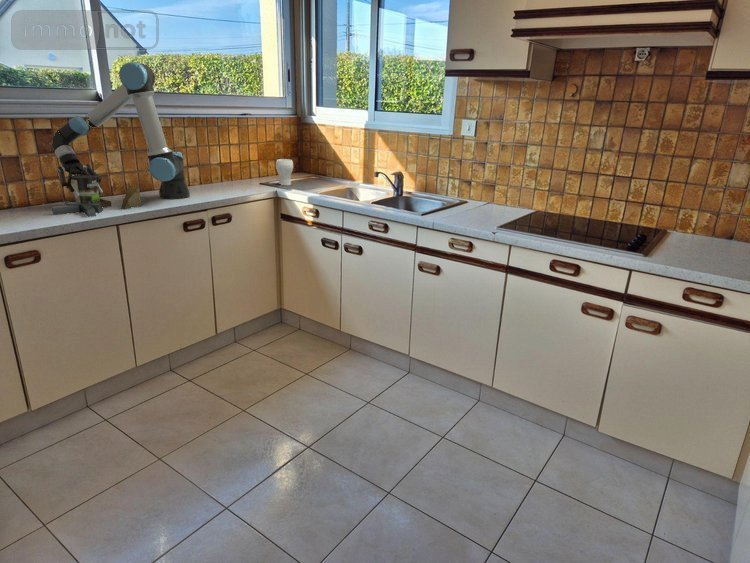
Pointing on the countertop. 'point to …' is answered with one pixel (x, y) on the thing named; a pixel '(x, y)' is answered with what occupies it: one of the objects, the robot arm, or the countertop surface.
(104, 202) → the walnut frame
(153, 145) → the robot arm
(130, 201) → the rock
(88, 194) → the coffee can
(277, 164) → the cup
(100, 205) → the dark grey branched bar
